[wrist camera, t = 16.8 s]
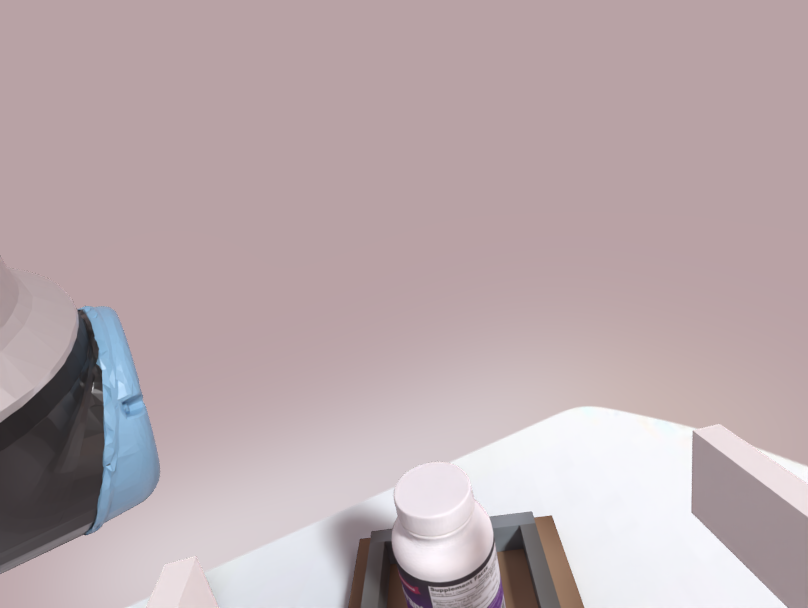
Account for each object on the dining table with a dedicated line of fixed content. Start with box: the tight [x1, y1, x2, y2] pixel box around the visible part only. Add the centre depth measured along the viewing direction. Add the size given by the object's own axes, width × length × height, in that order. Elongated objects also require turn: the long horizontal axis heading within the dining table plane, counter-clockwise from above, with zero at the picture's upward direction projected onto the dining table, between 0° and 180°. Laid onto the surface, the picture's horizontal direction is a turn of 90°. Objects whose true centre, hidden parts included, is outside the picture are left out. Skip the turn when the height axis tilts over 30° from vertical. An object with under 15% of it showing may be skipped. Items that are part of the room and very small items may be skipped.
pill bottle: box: [392, 462, 506, 608], centre depth 24 cm, size 5×5×10 cm
